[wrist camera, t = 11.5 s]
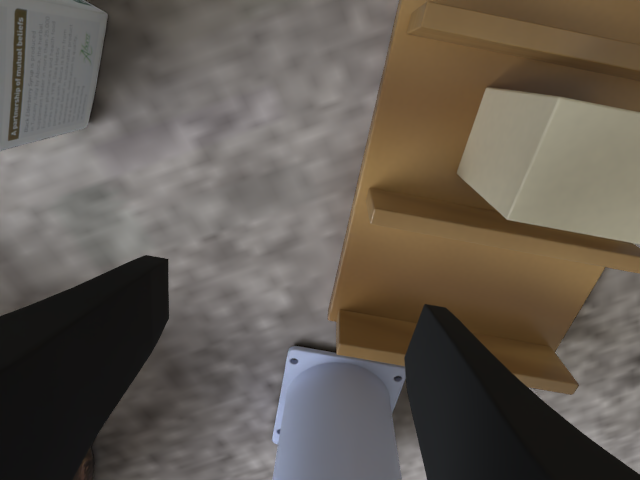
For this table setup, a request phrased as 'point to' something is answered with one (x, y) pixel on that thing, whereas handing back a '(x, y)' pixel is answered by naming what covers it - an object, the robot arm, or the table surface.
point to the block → (557, 163)
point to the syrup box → (47, 67)
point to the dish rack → (460, 198)
